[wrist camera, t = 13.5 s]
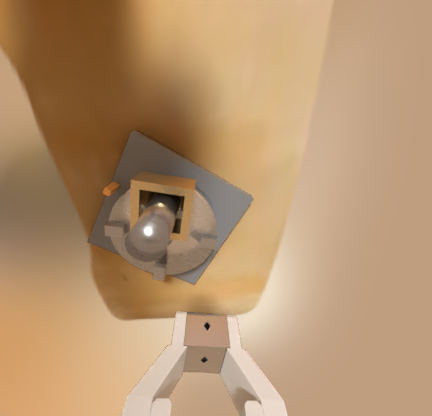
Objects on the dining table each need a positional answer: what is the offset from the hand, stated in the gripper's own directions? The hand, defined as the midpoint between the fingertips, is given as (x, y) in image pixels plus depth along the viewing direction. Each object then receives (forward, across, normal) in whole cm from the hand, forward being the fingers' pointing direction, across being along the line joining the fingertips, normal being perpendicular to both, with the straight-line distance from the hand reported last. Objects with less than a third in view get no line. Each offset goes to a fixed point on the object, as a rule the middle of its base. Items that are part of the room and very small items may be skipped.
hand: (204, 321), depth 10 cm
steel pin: (+15, +4, 0) cm, 15 cm away
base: (+19, +4, +4) cm, 20 cm away
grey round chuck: (+18, +4, +4) cm, 19 cm away
